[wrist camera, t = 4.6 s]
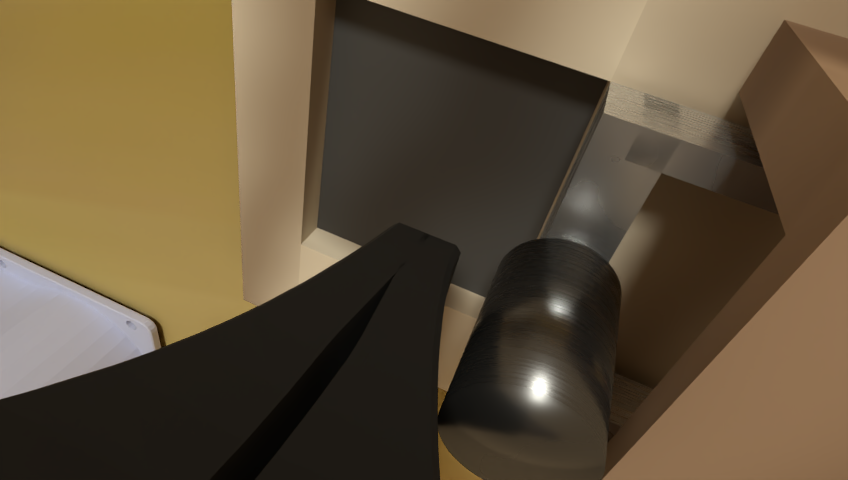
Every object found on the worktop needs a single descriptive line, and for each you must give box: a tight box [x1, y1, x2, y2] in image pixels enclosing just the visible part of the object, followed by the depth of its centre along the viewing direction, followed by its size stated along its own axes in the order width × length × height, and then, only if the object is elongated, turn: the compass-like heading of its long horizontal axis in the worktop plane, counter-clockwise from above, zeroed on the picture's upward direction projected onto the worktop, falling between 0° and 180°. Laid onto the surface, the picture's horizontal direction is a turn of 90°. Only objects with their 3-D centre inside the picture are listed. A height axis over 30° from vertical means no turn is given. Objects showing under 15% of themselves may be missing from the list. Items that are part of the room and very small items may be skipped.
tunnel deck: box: [232, 0, 848, 480], centre depth 9 cm, size 26×14×6 cm, turn 78°
